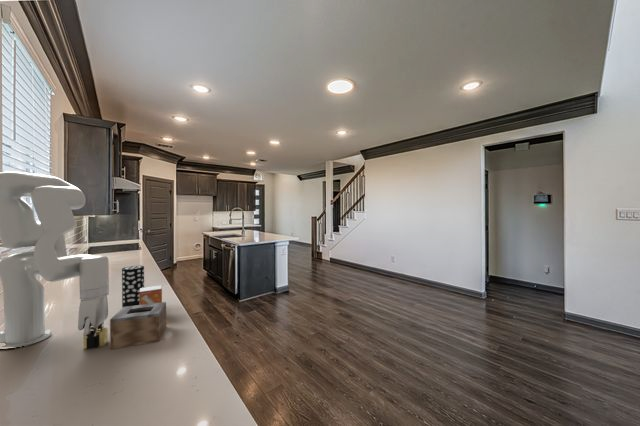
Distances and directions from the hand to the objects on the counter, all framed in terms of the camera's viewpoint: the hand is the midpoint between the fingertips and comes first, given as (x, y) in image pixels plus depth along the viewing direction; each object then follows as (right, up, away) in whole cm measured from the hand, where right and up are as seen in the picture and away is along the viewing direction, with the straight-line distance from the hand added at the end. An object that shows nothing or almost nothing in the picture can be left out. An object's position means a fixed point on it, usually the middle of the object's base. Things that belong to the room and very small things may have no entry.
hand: (95, 344), depth 87 cm
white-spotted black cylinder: (-10, 0, +31) cm, 32 cm away
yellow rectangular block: (0, 0, 0) cm, 0 cm away
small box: (+4, 0, +22) cm, 22 cm away
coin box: (+12, 0, +6) cm, 13 cm away
